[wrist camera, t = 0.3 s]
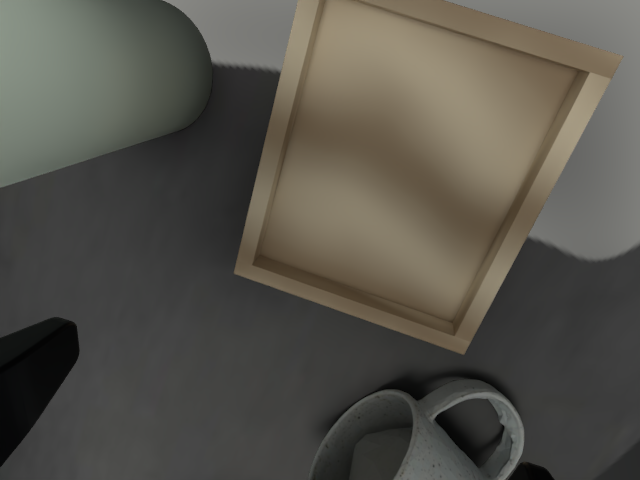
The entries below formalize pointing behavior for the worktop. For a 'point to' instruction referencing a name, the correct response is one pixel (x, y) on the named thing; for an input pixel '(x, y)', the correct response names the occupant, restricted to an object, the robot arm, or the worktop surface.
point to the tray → (412, 158)
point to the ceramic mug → (414, 438)
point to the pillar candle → (94, 79)
